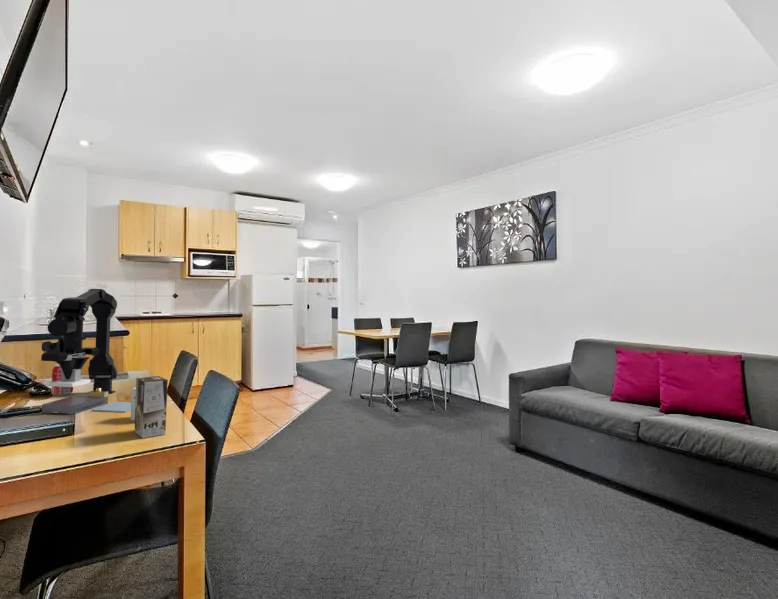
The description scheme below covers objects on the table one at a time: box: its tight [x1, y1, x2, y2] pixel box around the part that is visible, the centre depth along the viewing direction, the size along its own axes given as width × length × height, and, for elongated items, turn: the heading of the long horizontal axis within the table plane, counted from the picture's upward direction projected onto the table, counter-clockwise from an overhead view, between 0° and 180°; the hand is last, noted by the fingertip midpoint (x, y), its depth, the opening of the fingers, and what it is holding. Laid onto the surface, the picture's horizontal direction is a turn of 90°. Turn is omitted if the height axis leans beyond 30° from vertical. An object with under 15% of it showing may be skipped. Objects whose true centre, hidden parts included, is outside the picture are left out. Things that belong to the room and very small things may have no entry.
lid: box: [49, 368, 92, 388], centre depth 146 cm, size 8×8×5 cm
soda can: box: [50, 363, 74, 397], centre depth 169 cm, size 7×7×12 cm
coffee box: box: [134, 375, 169, 439], centre depth 123 cm, size 9×6×16 cm
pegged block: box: [88, 388, 109, 397], centre depth 154 cm, size 2×6×3 cm, turn 87°
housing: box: [41, 393, 109, 415], centre depth 148 cm, size 16×11×3 cm
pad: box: [91, 401, 131, 413], centre depth 151 cm, size 12×12×1 cm
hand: (70, 378), depth 146 cm, fingers closed on lid, 2 cm apart
